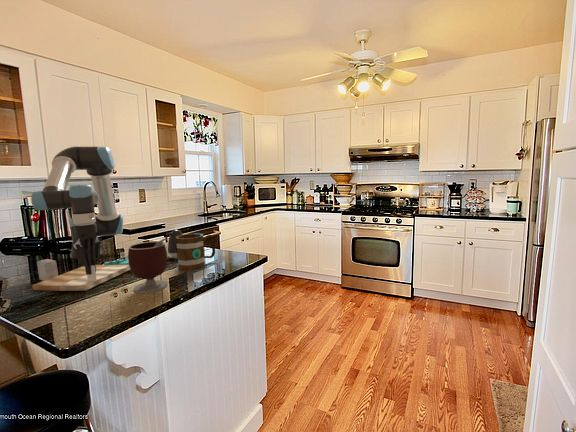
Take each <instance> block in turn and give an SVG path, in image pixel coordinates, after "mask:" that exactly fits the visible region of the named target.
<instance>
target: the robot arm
mask: <svg viewBox="0 0 576 432" xmlns="http://www.w3.org/2000/svg"><path fill="white" fill-rule="evenodd" d="M114 160H115V159H114V157H113V153H112V150H111V149H110V148H109V147H107V146H70V147H68V148H65V149H63V150H60V151H59V152H58V153H57V154H56V155H54V157H53V159H52V160H51V166H52V168H51V170H50V172H49V175H48V176H47V180H46V182H45V184H44V186H43V189H42V190H38V191H34V192H32V193H31V196H30V198H31V199H30V200H31V205H32V207H33V209H35V210H37V211H49V210H63V209H71V214H72V218H71V219H70V220H69V228H70V234H71V243H72V244H71V250H70V254H69V257H70V259H71V260H72V259H73V260H77V261H78V263H79V266H80V267H85V270H86V275H87V278H88V282H95V281H97V279H96V265H99V262H100V258H101V257H100V256H101V255H102V249H101V244H102V240H103V239H102V237H107V236H109V237H110V236H117V235H121V234H122V233H123V230H124V215H123V214H121V213H120V211H119V210H117V207H116V202H115V195H114V192H113V186H112V181H111V174H112V173H113V170H115V167H116V166H115V161H114ZM75 171H86V174H87V175H89V176H90V177H91V181H92V185H91V184H77V185H75V184H74V185H69V182H70V179H71V176H72V174H73V173H75ZM68 185H69V188H68V189H67V187H68ZM95 205H96V206H97V208H98V209H97V210H98V213H97V214H96V213H95Z"/></svg>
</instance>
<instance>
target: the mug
mask: <svg viewBox="0 0 576 432" xmlns="http://www.w3.org/2000/svg"><path fill="white" fill-rule="evenodd" d="M209 238H211V240H212V242H211V250H212V252H211V254H210V255H205V246H204V243H205V242H206V241H208V239H209ZM176 243H177V257H178V258H177V262H178V265H177V267H178V268H177V270H178V271H184V272H189V271H197V270H200V269H203V268H205V267H206V262H205V259H212V258H213V257H215V255H216V254H215V253H216V239H215V236H214V235H212V234H208V235H206V236H205V237H204V233H187V234H186V233H185V234H183V235H180V236H176Z"/></svg>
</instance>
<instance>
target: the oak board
mask: <svg viewBox="0 0 576 432" xmlns="http://www.w3.org/2000/svg"><path fill="white" fill-rule="evenodd" d="M106 266H109V265H104V264H97V265H96V270H99V269H101V268H104V267H106ZM84 275H86V270H85V267H83V266H80V267H77V268H75V269H72V270H70V271H67V272H64V273H62V274H60V275H59V274H58V276H56V277H53V278H50V279H48V280H45V281H42V280H41V281H40V282H37V283H35V284H32V285H31V286H32V291H53V292H54V291H58V292H59V291H60V290H59V286H60V285H62V284H65V283H67V282H69V281H72V280H74V279H77V278H79V277H82V276H84Z"/></svg>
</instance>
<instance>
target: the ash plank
mask: <svg viewBox="0 0 576 432" xmlns="http://www.w3.org/2000/svg"><path fill="white" fill-rule="evenodd" d="M128 271H131V269H130V266H129V265H119V264H117V265H109V266H106V267H104V268H101V269H99V270H96V279H97V281H95V282H88V278H87V275H84V276H82V277H79V278H77V279H74V280H72V281H69V282H67V283H65V284H62V285H60V286H59V291H61V292H64V291H67V292H68V291H69V292H70V291H78V292H79V291H88V290H90V289H93V288H94V287H96V286H99V285H101V284H102V283H105V282H107V281H109V280H111V279H113V278H115V277H117V276H120V275H122V274H124V273H126V272H128Z"/></svg>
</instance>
